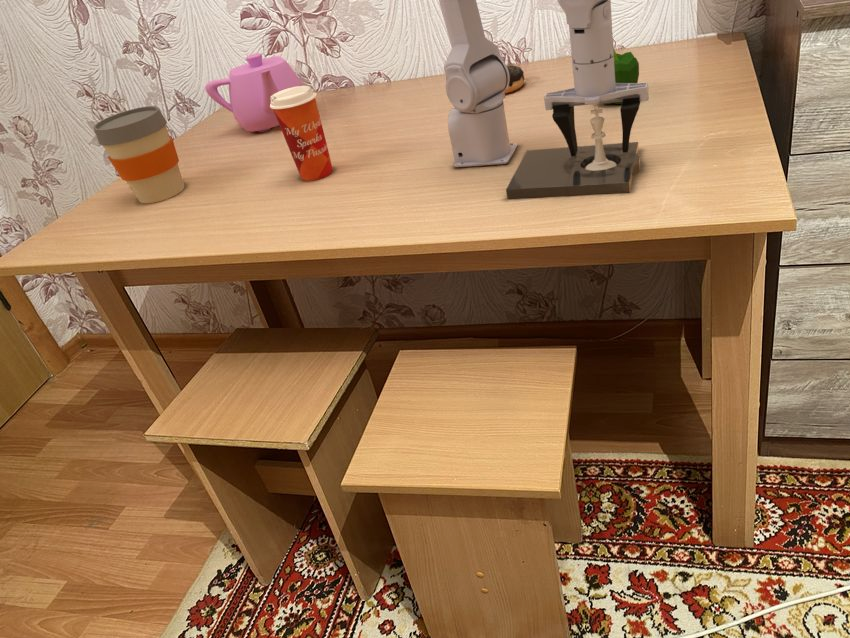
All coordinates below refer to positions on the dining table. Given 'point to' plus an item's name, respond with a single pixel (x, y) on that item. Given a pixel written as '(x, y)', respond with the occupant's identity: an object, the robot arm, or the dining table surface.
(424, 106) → the dining table surface
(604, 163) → the chess piece
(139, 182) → the reusable coffee cup
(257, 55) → the teapot
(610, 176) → the dark grey flat block
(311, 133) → the coffee cup
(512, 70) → the donut
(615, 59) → the bell pepper
